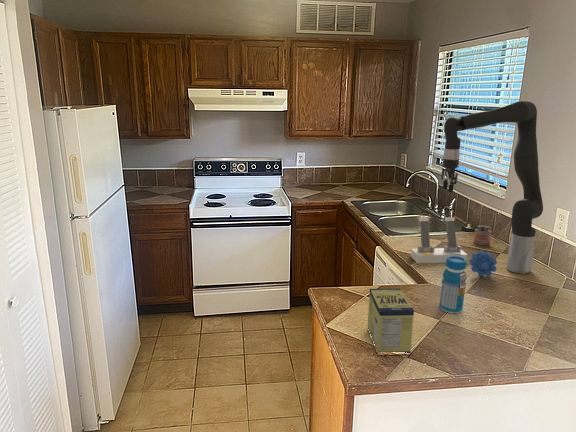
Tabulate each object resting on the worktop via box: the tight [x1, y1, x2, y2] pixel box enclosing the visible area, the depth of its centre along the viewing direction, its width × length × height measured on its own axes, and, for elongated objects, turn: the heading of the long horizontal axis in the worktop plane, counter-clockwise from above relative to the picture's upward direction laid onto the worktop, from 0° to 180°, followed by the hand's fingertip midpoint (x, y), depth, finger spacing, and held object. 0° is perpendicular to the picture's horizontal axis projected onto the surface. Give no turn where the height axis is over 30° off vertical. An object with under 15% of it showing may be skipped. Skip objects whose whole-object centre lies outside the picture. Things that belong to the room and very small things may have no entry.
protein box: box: [367, 288, 415, 354], centre depth 137 cm, size 10×16×16 cm
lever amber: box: [418, 216, 431, 252], centre depth 207 cm, size 4×2×16 cm, turn 93°
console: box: [410, 244, 468, 264], centre depth 207 cm, size 24×9×7 cm, turn 93°
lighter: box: [472, 225, 493, 246], centre depth 228 cm, size 8×3×10 cm, turn 62°
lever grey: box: [444, 216, 458, 251], centre depth 208 cm, size 4×2×16 cm, turn 93°
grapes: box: [468, 249, 498, 277], centre depth 187 cm, size 12×7×12 cm, turn 81°
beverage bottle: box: [438, 256, 468, 314], centre depth 158 cm, size 8×8×20 cm
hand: (447, 190), depth 219 cm, fingers open, 6 cm apart
